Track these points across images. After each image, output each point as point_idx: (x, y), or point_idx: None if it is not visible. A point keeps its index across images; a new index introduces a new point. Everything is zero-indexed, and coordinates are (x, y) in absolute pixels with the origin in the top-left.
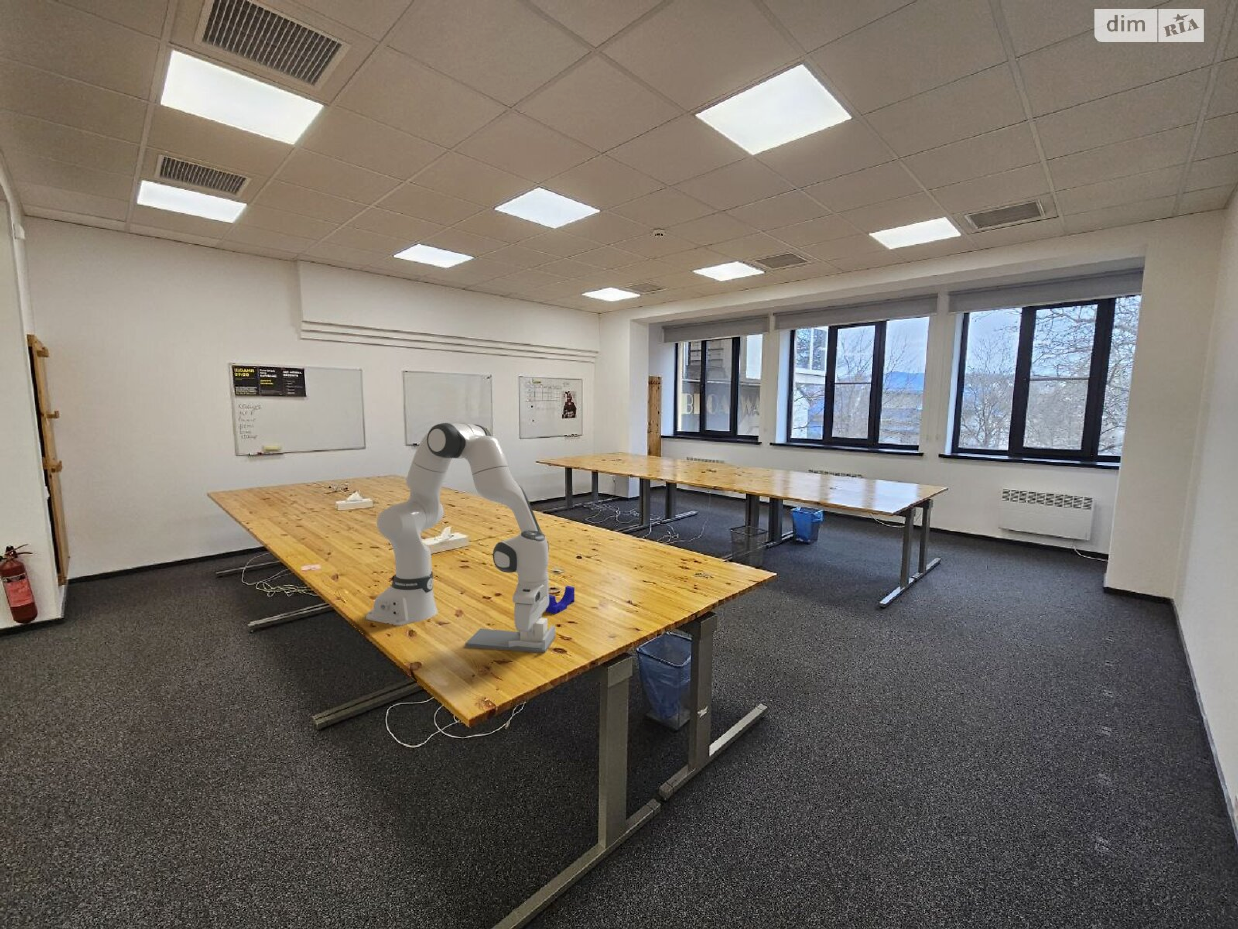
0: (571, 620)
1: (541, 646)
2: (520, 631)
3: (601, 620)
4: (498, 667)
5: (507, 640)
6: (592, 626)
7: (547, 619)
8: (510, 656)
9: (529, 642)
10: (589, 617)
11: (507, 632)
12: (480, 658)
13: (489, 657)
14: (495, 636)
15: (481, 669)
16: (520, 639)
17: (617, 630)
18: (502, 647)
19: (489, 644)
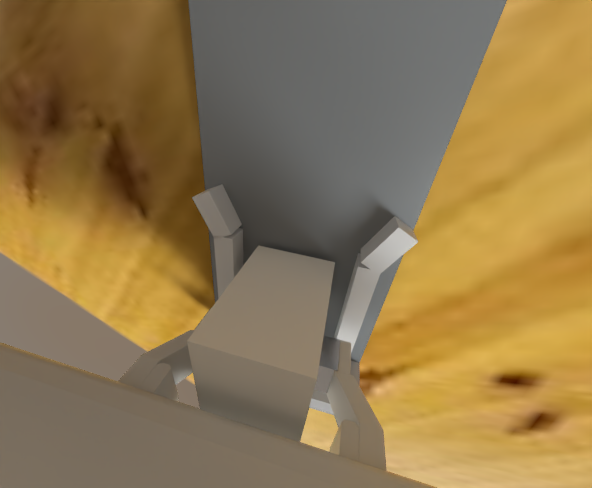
0: (562, 425)
1: None
2: (229, 285)
3: (510, 484)
4: (81, 169)
5: (282, 162)
6: (457, 456)
7: None
8: (176, 201)
9: None
10: (566, 472)
11: (422, 126)
12: (97, 25)
13: (129, 87)
14: (346, 28)
15: (26, 87)
16: (253, 253)
17: None
18: (205, 148)
19: (203, 30)
